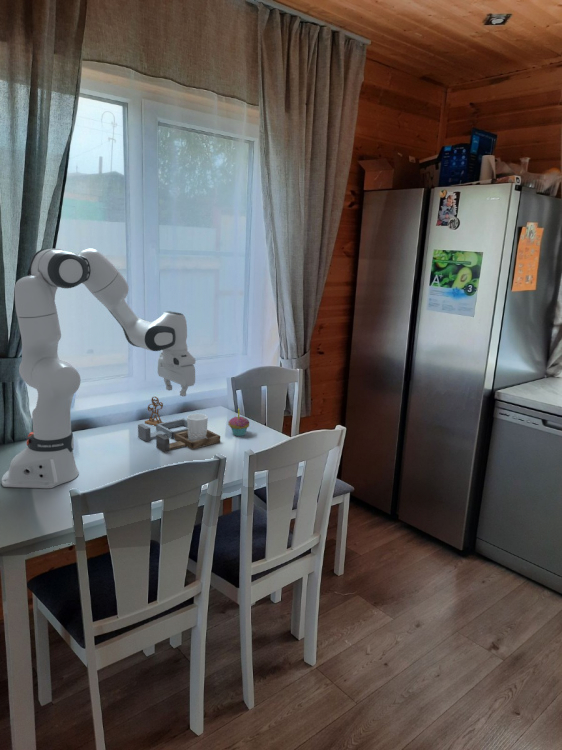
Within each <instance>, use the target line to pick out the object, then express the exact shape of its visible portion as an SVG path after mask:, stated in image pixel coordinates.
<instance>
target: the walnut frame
mask: <svg viewBox="0 0 562 750" xmlns="http://www.w3.org/2000/svg"><path fill="white" fill-rule="evenodd" d="M173 439H174V441H175V442H170V437H168V436H164V435H162V434H158V435H156V438H155V440H156V443H155V444H156V449H158V450H160V451H162V452H163V453H168V452H170V451H171V450H175V449H179V448H183V447H184V448H185V447H187V448H189V449H190V450H193V449H198V448H202V447H206V446H209V445H214V444H218V443H220V442H221V435H220V434H217V433H215V432H213V431H211V430H209V429H207V435H206V438H205V439H201V440H197V441H193V442H192V441H190V440H188V431H185V432H180V433H176V434H174V438H173Z"/></svg>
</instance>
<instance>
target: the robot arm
mask: <svg viewBox="0 0 562 750" xmlns="http://www.w3.org/2000/svg"><path fill="white" fill-rule="evenodd" d="M30 259H31V260H30V263H29V264H30V265H29V267H28V270H27V273H26V274H27V275H26V276H23V277H21V278H19V279H18V280H17V281H16V282H15V285H14V304H15V305H14V306H15V312H16V318H17V323H18V327H19V333H20V338H21V361H20V363H19V367H18V372H19V376H20V377H21V379H22V380H23V381H24V382H25V384H27V386H29V387H31V388H33V389H36V391H37V401H36V403H35V404H36V405H35V408H33V410H32V414H31V417H32V431H31V432H29V433H28V435H27V438H26V446H27V447H25V448H24V449H22V450H21V451H20V452H19V453H17V454H16V455H15V456H14V457H13V458H12V460H11V461H10V464H9V469H8V470H7V471H6V472H5V473H4V474H3V476H2V477H1V485H2V487H5V488H23V489H27V488H29V489H30V488H31V489H32V488H33V489H53V488H55V487H57V486H59V485H62V484H65V483H69V482H70V481H72V480H75V479H76V478H77V477H78V476H79V469H78V467H77V464H76V460H75V456H74V447H75V445H74V440H75V439H74V434H73V431H72V423H71V422H72V419H71V417H72V416H71V415H72V414H71V408H72V403H73V402H72V401H73V400H74V395H75V393H77V391H78V390H79V388H80V386H81V375H80V373H79V371H78V370H77V369H75V367H74V366H73V365H71V364H70V363H68V362H66V361H63V360H61V359H60V358H59V356H58V355H59V354H58V350H59V349H58V348H59V347H58V346H59V341H61V338H62V333H61V327H60V321H59V320H60V319H59V316H58V315H59V314H58V309H57V306H56V301H55V300H56V292H57V291H58V288H61V289H71V288H76V287H77V286H79V285H81V284H83V285H84V286H85V287H86V288H87V290H88V291H89V293H90V294H92V295H93V296H94V297H95V298H96V299H97V300H98V301H99V302H100V303H101V305H103V306H104V307H105V308H106V309H107V310H108V311H109V313H110V314H111V315H112V317H113V318H114V319H115V320H116V321H117V323H118V324H119V326H120V327H121V328H122V330H123V333H124V336H125V338H126V340H127V342H128V343H129V344H130V345H131V346H133V347H137V348H142V349H144V350H148V351H151V352H159V351H160V352H161V351H162V352H161V353H160V354H159V358H158V361H157V375H158V377H160V378H162V379H163V381H164V384H165V389H166V390H167V391H173V385H172V383H171V382H173V383H176V384H178V385H180V388H181V390H179V396H181V397H186V396H187V391H188V388H190V387H193V386H194V385H195V383H196V368H195V364H196V358H195V357H194V356H193V355H192V354H191V353H190V351H188V344H187V339H188V326H187V320H186V316H185V314H183V313H181V312H176V311H170V310H167V311H163V313H162V315H160V316H159V317H158V318H157V319H155V320H153V321H148V320H145V319H143V318H140V317H139V316H137V315H136V314H135V312H134V311H133V309H132V308H131V307H130V306H129V304H128V303H127V302H126V300H125V299H126V298H127V295H128V293H129V285H128V282H127V280H126V279H125V278H124V276H123V275H122V273H121V272H120V271H119V270H118V268H117V267H116V266H115V265H114V264H113V263H112V262H111V261H110V260H109V259H108V258H107V256H104V254H103V253H101V252H100V251H98V250H97V249H94V248H86V249H83V250H81V251H80V252H79V253H74V252H71V251H66V250H64V249H60V248H50V247H49V248H48V247H47V248H43V249H40V250H38V251H36V252H35V253H34V254H33V255H32V258H30Z"/></svg>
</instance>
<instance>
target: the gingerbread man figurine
mask: <svg viewBox="0 0 562 750" xmlns="http://www.w3.org/2000/svg"><path fill="white" fill-rule="evenodd" d="M150 399H151V400H150V401H151V403H149V404H148V406H147V411H148V412H151V414H150V417H149V419H147V420H145V421H144V425H149V426H152V425H154V426H153V427H156V424H159V423H164V422H163V421H162V418H161V417H160V414H159V411H161V410H162V409H163V407H164V403H163V402H161V401H160V400H159V397H157V396H152V397H151V398H150ZM151 405H153V406H152V407H151ZM158 407H160V408H158ZM152 416H153V417H152Z"/></svg>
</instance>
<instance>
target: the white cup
mask: <svg viewBox="0 0 562 750" xmlns="http://www.w3.org/2000/svg"><path fill="white" fill-rule="evenodd" d="M208 419H209V417H208V415H206V414H203V413H193V414H192V413H191V414H188V415H187V416H186V420H187V427H186V428H187V429H188V438H187V439H188V440H190V441H192V442H193V441H197V440H201V439H205V438H207V437H206V435H207V430H208V423H209V422H208V421H209V420H208Z"/></svg>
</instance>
